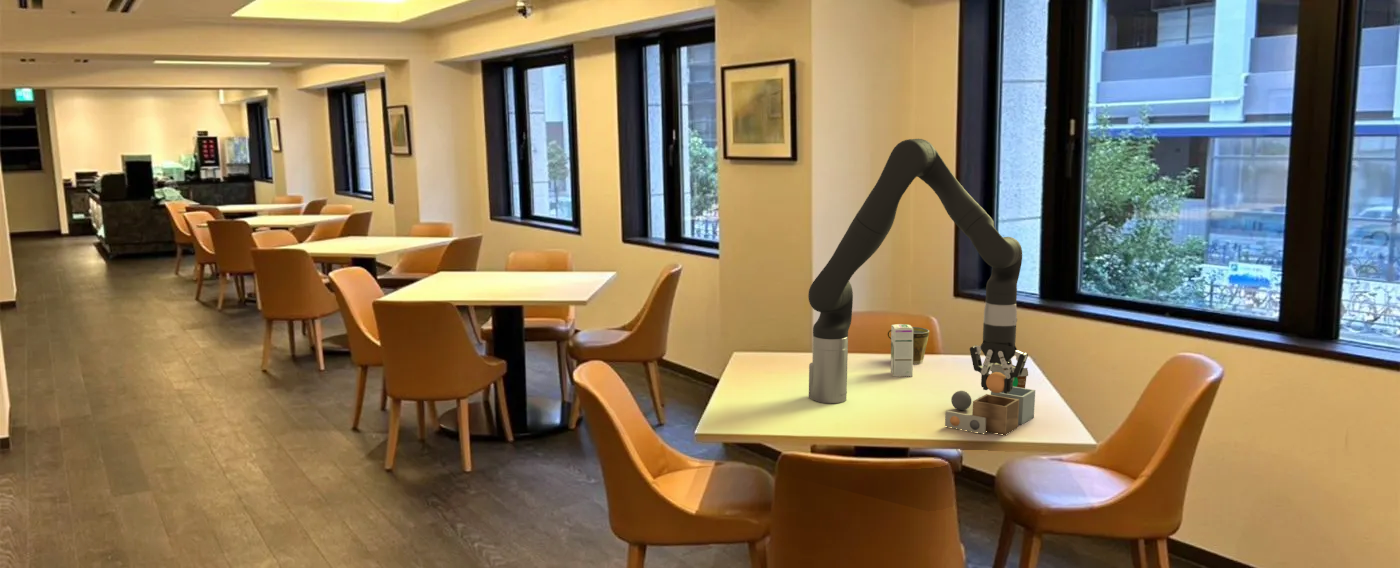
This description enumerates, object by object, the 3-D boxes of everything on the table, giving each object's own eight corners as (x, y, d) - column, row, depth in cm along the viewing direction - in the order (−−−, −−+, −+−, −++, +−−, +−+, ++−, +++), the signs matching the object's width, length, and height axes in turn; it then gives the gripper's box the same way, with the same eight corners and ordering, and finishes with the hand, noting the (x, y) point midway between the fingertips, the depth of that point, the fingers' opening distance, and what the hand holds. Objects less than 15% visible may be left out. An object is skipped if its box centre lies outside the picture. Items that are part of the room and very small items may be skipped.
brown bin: (971, 429, 244) (973, 401, 243) (985, 421, 251) (986, 394, 250) (1004, 435, 239) (1006, 407, 238) (1017, 427, 246) (1019, 399, 245)
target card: (944, 427, 246) (945, 411, 245) (946, 426, 247) (946, 410, 246) (984, 434, 240) (985, 418, 239) (985, 434, 241) (986, 417, 240)
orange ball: (982, 393, 243) (983, 372, 242) (990, 388, 247) (991, 368, 246) (1002, 396, 240) (1003, 376, 239) (1010, 392, 244) (1011, 371, 243)
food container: (978, 395, 274) (979, 359, 272) (997, 393, 276) (999, 357, 274) (1007, 407, 263) (1009, 370, 261) (1026, 405, 265) (1028, 368, 263)
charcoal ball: (947, 410, 260) (948, 391, 259) (955, 406, 264) (956, 387, 263) (966, 413, 257) (967, 394, 256) (974, 409, 261) (975, 390, 260)
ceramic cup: (932, 360, 314) (933, 329, 312) (921, 367, 305) (922, 334, 304) (892, 355, 321) (893, 324, 319) (880, 361, 312) (881, 330, 311)
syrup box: (913, 376, 294) (914, 327, 292) (892, 376, 294) (894, 327, 292) (909, 372, 300) (911, 323, 297) (889, 372, 300) (890, 323, 297)
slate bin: (989, 418, 253) (990, 391, 252) (1002, 411, 259) (1003, 384, 258) (1021, 424, 248) (1023, 397, 247) (1033, 417, 254) (1035, 390, 253)
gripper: (964, 320, 242) (961, 389, 245) (1023, 327, 233) (1020, 399, 236) (977, 315, 248) (974, 383, 251) (1035, 322, 239) (1031, 392, 242)
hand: (996, 390), depth 243 cm, fingers closed on orange ball, 4 cm apart
